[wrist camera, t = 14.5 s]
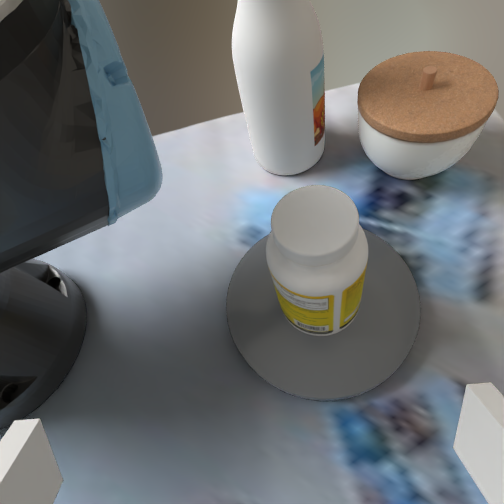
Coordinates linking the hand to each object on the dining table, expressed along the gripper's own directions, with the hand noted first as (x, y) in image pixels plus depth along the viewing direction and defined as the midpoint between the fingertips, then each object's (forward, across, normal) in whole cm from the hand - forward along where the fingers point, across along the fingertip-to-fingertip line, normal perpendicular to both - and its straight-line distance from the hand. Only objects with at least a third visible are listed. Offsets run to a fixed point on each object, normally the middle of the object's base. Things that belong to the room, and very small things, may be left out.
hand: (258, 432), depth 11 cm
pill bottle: (+16, +6, -5) cm, 18 cm away
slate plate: (+17, +6, -6) cm, 19 cm away
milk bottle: (+32, +6, +4) cm, 33 cm away
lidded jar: (+28, +17, +4) cm, 33 cm away
